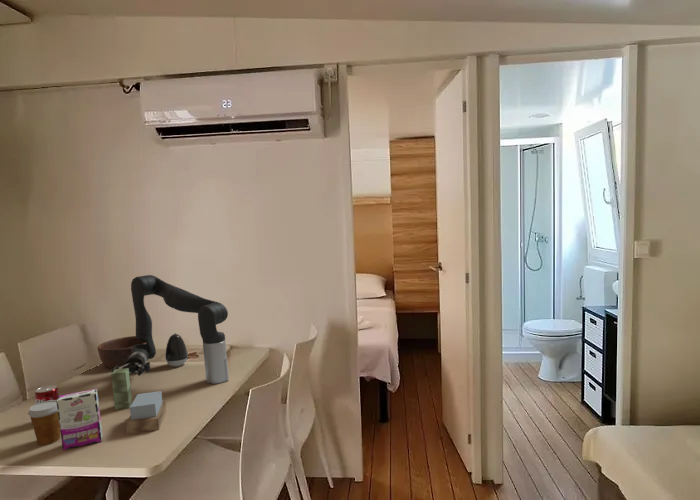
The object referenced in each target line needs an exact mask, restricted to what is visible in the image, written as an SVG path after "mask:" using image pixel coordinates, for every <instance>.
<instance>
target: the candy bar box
mask: <svg viewBox="0 0 700 500" xmlns="http://www.w3.org/2000/svg"><path fill="white" fill-rule="evenodd" d="M57 409H58V416H59V425H60V439H61V449H62V450H63V451H67V450H71V449H74V448H79V447H84V446H89V445H93V444H97V443H101V442H102V440H103V436H104V435H103V428H102V418H101V410H100V403H99V396H98V388H93V389H88V390H87V389H86V390H83V391H77V392H72V393H68V394H67V393H66V394H63V395H62V394H61V395H59V397H58V399H57Z"/></svg>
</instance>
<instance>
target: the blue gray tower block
mask: <svg viewBox="0 0 700 500" xmlns="http://www.w3.org/2000/svg"><path fill="white" fill-rule="evenodd" d="M162 394H163V393H162V391H161V390H160V391H153V392H151V391H150V392H146V393H145V392H144V393H143V392H142V393H137V394H136V397H135V398H134V400H132V404H131V406H130V408H129V412H130V415H131V420H136V419H144V418H151V417H156V416H157V414H158V412H159V410H160V408H161V405H162V403H163V402H164V401H163V395H162Z"/></svg>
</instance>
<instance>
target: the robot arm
mask: <svg viewBox="0 0 700 500" xmlns="http://www.w3.org/2000/svg"><path fill="white" fill-rule="evenodd" d="M130 291H131V297H132V298H131V299H132V304H133V310H134V316H135V318H134V319H135V336H136V339H138V340H141V341H145V342H146V343H147V344H136V345H134V346H133V347H132V351H131V353H132V355H130V357H129V358H128V359H127V360H126V362H125V365H123V366H121V367H119V366H115V367H114V368H111V373H112V372H113V371H114V370H116V369H125V368H129V374H132V375H136V374H137V376H139V377H140V376H141V375H143V374H145V373H148V372H150V371H151V370H150V369H151V362H150V361H148V360H152V359H153V358H155V356H156V354H157V350H156V346H155V343H154V339H153V320H152V318H151V315H150V314H149V312H148V310H147V308H146V306H145V297H146V296H151V295H154V296H158V297H161V298H163V301H164V303H165V304H166V305H167V307H170V308H171V309H174V310H176V311H179V312H183V313H191V314H192V313H193V314H197V321H198V329H199V335H200V337H201V339H202V348H203V358H204V369H205V371H204V372H205V382H206V383H207V384H210V383H211V385H215V384H221V383H224V382H228V381H229V379H230V377H229V365H228V356H227V347H226V334H225V333H224V332H222V331H218V329H217V325H219V324H222V323H224V322H225V321H226V320H227V318H228V316H229V311H228V309H227V307H226V306H225V305H224V304H222V302H218V301H214V300H211V299H206V298H204V297H201V296H199V295H197V294H194V293H191V292H190V291H187V290H185V289H183V288H181V287H177V286H176V285H172V284H170V283H168V282H166V281H164V280H162V279H160V278H159V277H157V276H155V275H152V274H147V275H146V274H145V275H140V276H136V277H133V278H132V280H131V283H130Z"/></svg>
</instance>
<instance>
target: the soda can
mask: <svg viewBox="0 0 700 500" xmlns="http://www.w3.org/2000/svg"><path fill="white" fill-rule="evenodd" d="M59 396H60V392H59V387H58V386H57V385H54V384H53V385H51V384H50V385H45V386H42V387H40V388H37V389H36V390H35V391H34V400H35V404H38V403H41V402H45V401H50V400H57V399H58V397H59Z"/></svg>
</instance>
